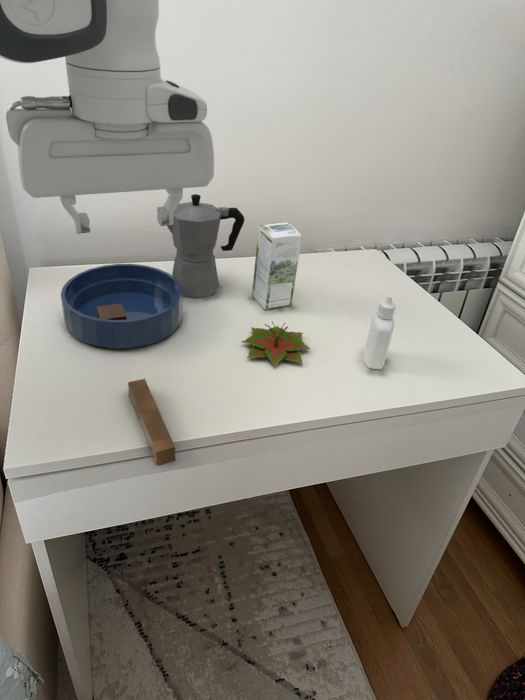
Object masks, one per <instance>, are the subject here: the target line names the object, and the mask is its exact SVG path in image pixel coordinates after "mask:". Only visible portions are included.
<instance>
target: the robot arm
mask: <svg viewBox="0 0 525 700" xmlns="http://www.w3.org/2000/svg"><path fill="white" fill-rule="evenodd" d="M159 15H160V2H159V0H0V58H2V59H4V60H6V61H9V62H12V63H18V64H35V63H40V62H45V61H50V60H56V59H60V58H64V59H65V69H66V76H67V77H66V78H67V85H68V93H69V95H60V96H59V95H53V96H44V97H42V96H41V97H37V96H33V95H26V96H21V97H20V98H19V100H17V101H14V102H13V103H11V104H10V105H9V107H8V108H7V110H6V114H5V120H6V124H7V130H8V131H7V132H8V134H9V137H10V139H11V140H12V142H13V143H14V144H16V145H17V159H18V169H19V178H20V182H21V186H22V190H24V191H25V192H26V193H27V194H28V195H29V196H30V197H31V198H35V199H39V198H54V197H59V201H60V202H61V205H62V207H63V208H64V209H65V210H66V212H67V213H68V214H69V216H70V217H71V218H72V219H73V220H72V221H73V227H74V231H75V233H76V234H77V235H80V234H81V235H82V234H88V233H91V227H90V224H91V223H90V218H89V216H88V214H87V212H79V211H78V210H77V209H76V208H75V206H74V205H76V204H77V198H76V196H83V195H98V194H99V195H100V194H115V193H126V192H127V193H128V192H145V191H159V190H165V191H166V193H167V194H168V196H167V198H166V200H165V202H164V203H163V206H157V207H156V213H157V215H158V216H156V217H157V218H156V220H157V223H158V224H159V226H160V227H165V226H166V227H167V225H173V211H175V209H176V208H177V206H178V204H181V202H182V199H183V197H184V194H183V193H184V192H183V191H184V189H190V188H205V187H208V186H209V184H210V183H211V182H212V180H213V179H214V176H215V154H214V143H213V136H212V133H211V130H210V128H209V127H208V126H207V124H206V123H204V122H203V121H204V120H206V118H207V116H208V115H207V114H208V105H207V101H206V100H204V98H202V97H201V96H200V95H199V94H198V93H196V92H194V91H193V90H191V89H189V88H186V87H184V86H182V85H179V84H177V83H175V82H173V81H170V80H168V79H167V80H165V79H162V78H161V77H162V76H161V75H162V74H161V60H160V56H159V52H158V48H157V42H156V32H157V25H158V23H159ZM18 107H20V108H18Z"/></svg>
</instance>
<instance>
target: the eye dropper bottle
mask: <svg viewBox="0 0 525 700" xmlns="http://www.w3.org/2000/svg"><path fill="white" fill-rule="evenodd" d="M395 310H396V304H395V303H394V302H393V296H392V295H391V294H389V295H387V296H386V297H385V299H384V300H380V301H379V303H378V308H377V312H375V313H374V314H373V316H372V317H371V322H370V324H369V329H368V333H367V338H366V342H365V346H364V350H363V354H362V358H363V362H364V365H366V367H367V368H368V369H373V370H382V369H383V367H384V365H385V364H386V363H385V362H386V359H387V355H388V351H389V348H390V345H391V341H392V337H393V333H394V329H395V321H394V320H395V319H394V318H393V317H394V314H395Z"/></svg>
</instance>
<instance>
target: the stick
mask: <svg viewBox="0 0 525 700" xmlns="http://www.w3.org/2000/svg"><path fill="white" fill-rule="evenodd" d="M127 387H128V388H127V389H128V396H129V400H130V402H131V404H132V407H133V409H134V411H135V414H136V417H137V419H138V421H139V425H140V427H141V429H142V432H143V434H144V438H145V439H146V442H147V444H148V447H149V450H150V453H151V455H152V457H153V459H154V463H155V465H156V466H159V465H163V464H166V463H170V462H175V461H176V445H175V444H174V441H173V439H172V436H171V435H170V432H169V430H168V428H167V425H166V423H165V421H164V419H163V416H162V414H161V412H160V410H159V407H158V405H157V403H156V401H155V398H154V396H153V394H152V392H151V389H150V388H149V385H148V383H147V381H146V379H145V378H141V379H137V380H131V381H128V382H127Z"/></svg>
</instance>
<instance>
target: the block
mask: <svg viewBox="0 0 525 700" xmlns="http://www.w3.org/2000/svg"><path fill="white" fill-rule="evenodd" d="M96 310H97V318H99V319H108V320H127V317H126V314H125V311H124V309H123V306H122V304H113V305H106V306H98V307H96Z"/></svg>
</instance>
